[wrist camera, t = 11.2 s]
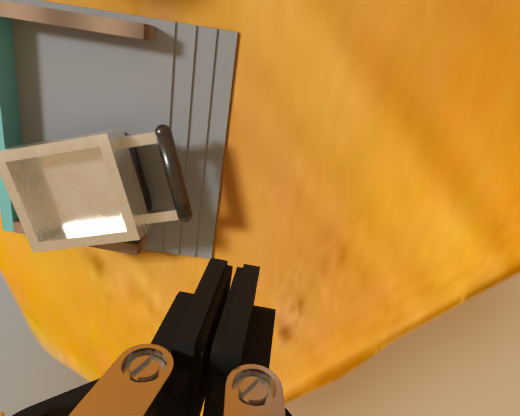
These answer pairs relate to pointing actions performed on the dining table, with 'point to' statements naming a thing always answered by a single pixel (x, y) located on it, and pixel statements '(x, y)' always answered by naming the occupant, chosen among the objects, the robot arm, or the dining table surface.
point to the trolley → (90, 188)
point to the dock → (121, 101)
